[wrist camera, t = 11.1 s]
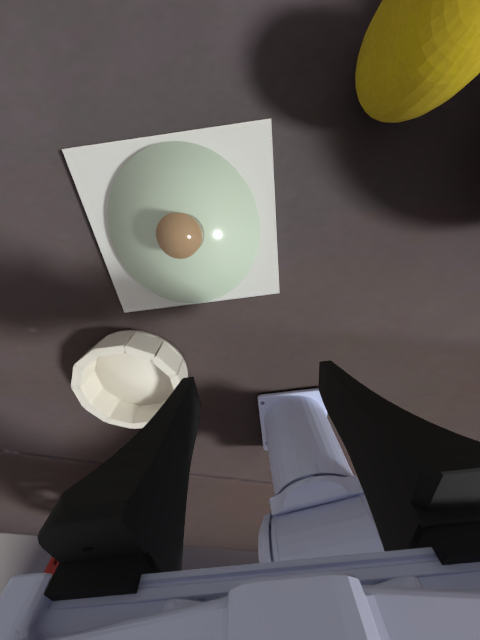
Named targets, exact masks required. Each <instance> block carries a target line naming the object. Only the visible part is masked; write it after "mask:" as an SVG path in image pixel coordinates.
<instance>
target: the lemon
mask: <svg viewBox="0 0 480 640" xmlns="http://www.w3.org/2000/svg"><path fill="white" fill-rule="evenodd" d="M479 73H480V0H382V2H381V4H380V5H379V7H378V9H377V11H376V13H375V15H374V17H373V19H372V21H371V23H370V25H369V27H368V29H367V31H366V33H365V36H364V39H363V42H362V45H361V48H360V51H359V55H358V59H357V66H356V73H355V82H356V92H357V96H358V99H359V102H360V104H361V106H362V107H363V109H364V111H365V112H366V113H367V114H368V115H369V116H371V117H372V118H374V119H376V120H378V121H381V122H389V123H398V122H403V121H407V120H410V119H414V118H417V117H420V116H422V115H424V114H426V113H427V112H429V111H431V110H433V109H434V108H436V107H438V106H440V105H441V104H443V103H445V102H446V101H447V100H449V99H450V98H452V97H453V96H454V95H455V94H457V93H458V92H459V91H460V90H461V89H462V88H463V87H465V86H466V85H467V84H468V83H469V82H470V81H471V80H473V79H474V78H475V77H476V76H477V75H478V74H479Z"/></svg>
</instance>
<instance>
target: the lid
mask: <svg viewBox="0 0 480 640" xmlns="http://www.w3.org/2000/svg"><path fill="white" fill-rule="evenodd" d="M108 226H109V231H110V236H111V239H112V242H113V246H114V248H115V250H116V252H117V255H118V257H119V258H120V260H121V262H122V263H123V265H124V266H125V268H126V269H127V270H128V272H129V273H130V274H131V275H132V276H133V277H134V278H135V279H136V280H137V281H138V282H139V283H140V284H141V285H142V286H144V287H145V288H147V289H148V290H149V291H151V292H153V293H154V294H156V295H158V296H160V297H163V298H165V299H168V300H171V301H175V302H180V303H203V302H208V301H212V300H214V299H217V298H219V297H221V296H223V295H225V294H227V293H228V292H230V291H231V290H233V289H234V288H235V287H236V286H237V285H238V284H239V283H240V282H241V281H242V280H243V279H244V278H245V276H246V275H247V273H248V272H249V270H250V268H251V266H252V264H253V262H254V260H255V257H256V254H257V250H258V245H259V238H260V222H259V216H258V210H257V207H256V203H255V200H254V198H253V195H252V193H251V191H250V189H249V187H248V185H247V184H246V182H245V180H244V179H243V177H242V176H241V175H240V173H239V172H238V171H237V170H236V169H235V168H234V167H233V166H232V165H231V164H230V163H229V162H228V161H227V160H226V159H224V158H223V157H222V156H220V155H219V154H217V153H216V152H214V151H212V150H210V149H209V148H206V147H203V146H201V145H198V144H194V143H190V142H183V141H169V142H162V143H158V144H155V145H152V146H150V147H147V148H145V149H143V150H141V151H140V152H139V153H137V154H136V155H134V156H133V157H132V158H131V159H130V160H129V161H128V162H127V163H126V164H125V165H124V167H123V168H122V169H121V171H120V172H119V174H118V176H117V177H116V179H115V181H114V184H113V187H112V189H111V192H110V197H109V202H108Z"/></svg>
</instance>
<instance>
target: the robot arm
mask: <svg viewBox="0 0 480 640" xmlns="http://www.w3.org/2000/svg"><path fill="white" fill-rule="evenodd" d="M200 404H201V403H200V399H199V395H198V392H197V388H196V384H195V381H194V377H187V378H183V379H182V380H181V381H180V382H179V384H178V385H177V387H176V388H175V389H174V391H173V392H172V393H171V395H170V396H169V397H168V399H167V400H166V401H165V403H164V404H163V405H162V406H161V408H160V409H159V410H158V411H157V412H156V414H155V415H154V416H153V417H152V418H151V420H150V421H149V422H148V423H147V424H146V425H145V426H144V427H143V428H142V429H141V430H140V431H139V432H138V433H137V434H136V435H135V436H134V437H133V438H132V439H131V440H130V441H129V442H128V443H127V444H126V445H124V446H123V447H122V448H121V449H120V450H119V451H118V452H117V453H116V454H114V455H113V456H112V457H111V458H109V459H108V460H107V461H106V462H105V463H103V464H102V465H101V466H99V467H98V468H97V469H96V470H94V471H93V472H92V473H90V474H89V475H87V476H86V477H85V478H83V479H82V480H80V481H79V482H77V483H76V484H75V485H73V486H72V487H70V488H69V489H67V490H66V491H64V492H63V494H62V495H61V497H60V498H59V500H58V502H57V503H56V505H55V507H54V508H53V510H52V512H51V513H50V515H49V517H48V518H47V520H46V522H45V523H44V525H43V527H42V528H41V530H40V531H39V534H38V541H39V544H40V545H41V547H42V548H43V549H44V550H46V551H47V552H48V553H49V554H50V555H51V556H52V557H53V558H55V559H56V560H57V561H58V562H59V564H58V566H57V568H56V570H55V572H54V574H53V575H52V574H49V573H36V574H25V575H15V576H14V577H12V578H11V580H10V581H9V583H8V584H7V586H6V588H5V589H4V591H3V592H2V594H1V596H0V640H480V442H478V441H476V440H473V439H470V438H467V437H465V436H462V435H459V434H457V433H454V432H452V431H449V430H447V429H444V428H442V427H440V426H437V425H435V424H433V423H430V422H428V421H426V420H424V419H422V418H420V417H418V416H416V415H414V414H412V413H409V412H408V411H406V410H404V409H402V408H400V407H398V406H396V405H395V404H393V403H391V402H389V401H387V400H386V399H384V398H382V397H381V396H379V395H378V394H376V393H375V392H373V391H371V390H370V389H368V388H367V387H365V386H364V385H363V384H361V383H360V382H358V381H357V380H356V379H354V378H353V377H351V376H350V375H349V374H347V373H346V372H345V371H344V370H342V369H341V368H340V367H338V366H337V365H336V364H334V363H333V362H332V361H323V362H320V366H319V388H315V389H306V390H297V391H289V392H280V393H271V394H262V395H259V396H258V406H259V414H260V423H261V431H262V440H263V448H264V450H268V453H269V460H270V467H271V473H272V480H273V487H274V494H275V496H274V497H271V498H270V507H271V513H268V514H266V515H265V516H264V518H263V521H262V525H261V527H260V531H259V540H258V549H259V563H257V564H246V565H236V566H226V567H215V568H204V569H193V570H184V571H182V554H183V538H184V525H185V512H186V501H187V490H188V481H189V472H190V465H191V459H192V454H193V449H194V444H195V439H196V435H197V429H198V424H199V418H200ZM327 412H328V414H329V416H330V418H331V420H332V422H333V424H334V426H335V427H336V429H337V431H338V433H339V435H340V437H341V439H342V441H343V443H344V445H345V447H346V449H347V451H348V454H349V456H350V458H351V461H352V463H353V466H354V468H355V471H356V473H357V476H358V478H357V476H353V473H352V471H351V469H350V467H349V465H348V463H347V460H346V458H345V456H344V454H343V452H342V449H341V447H340V445H339V443H338V441H337V439H336V436H335V434H334V432H333V430H332V428H331V425H330V423H329V421H328V419H327ZM358 479H359V480H358ZM359 481H360V482H359ZM360 484H361V485H360ZM361 486H362V487H361Z"/></svg>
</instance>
